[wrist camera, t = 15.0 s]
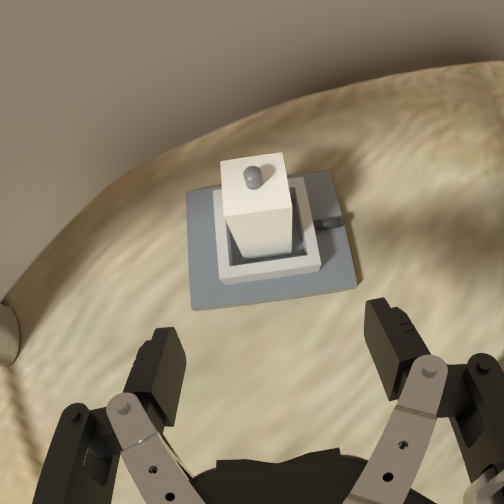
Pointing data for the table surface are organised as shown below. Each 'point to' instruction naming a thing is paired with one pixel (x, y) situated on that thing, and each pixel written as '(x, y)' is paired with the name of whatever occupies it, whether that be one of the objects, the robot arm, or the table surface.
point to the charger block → (258, 205)
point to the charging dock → (275, 267)
